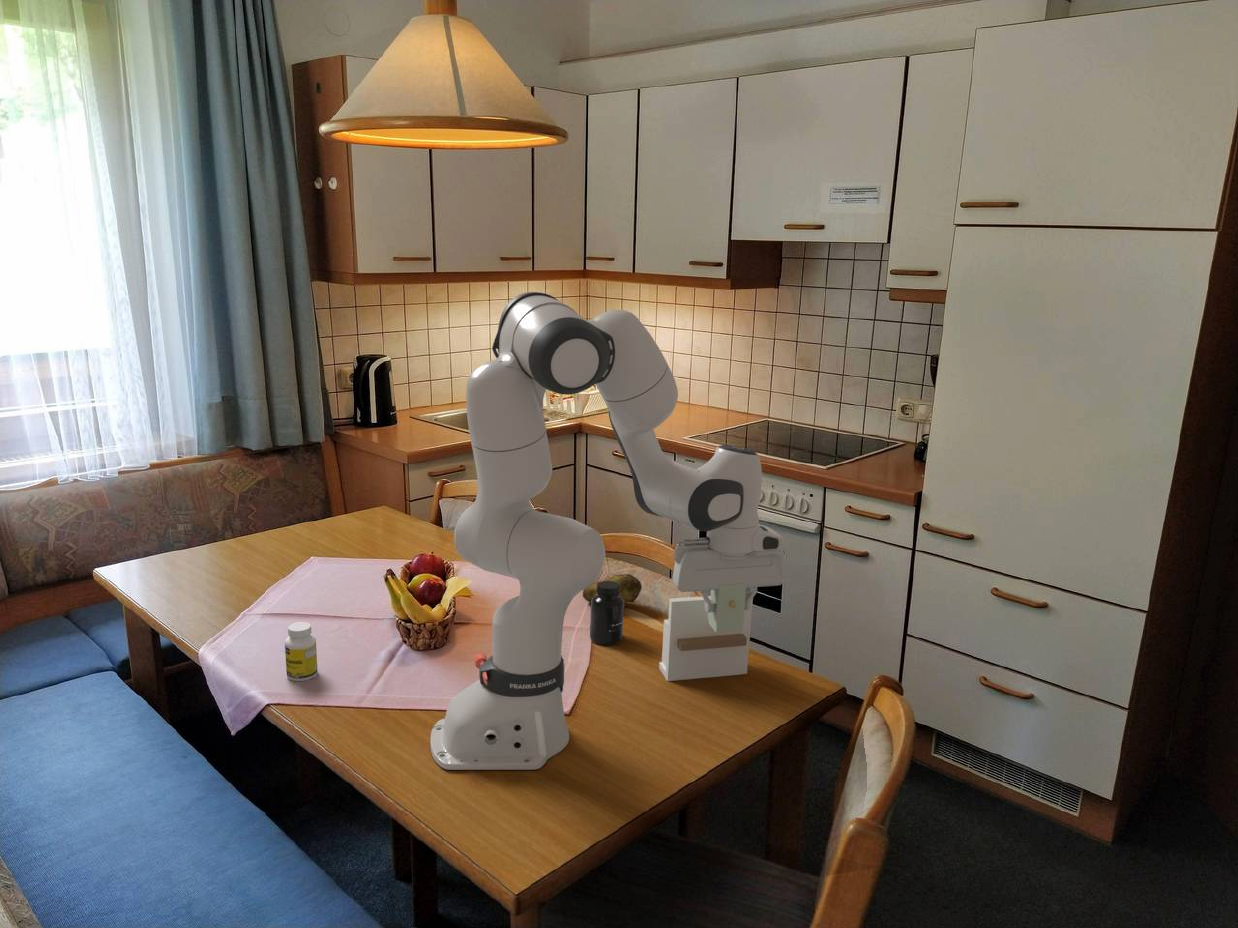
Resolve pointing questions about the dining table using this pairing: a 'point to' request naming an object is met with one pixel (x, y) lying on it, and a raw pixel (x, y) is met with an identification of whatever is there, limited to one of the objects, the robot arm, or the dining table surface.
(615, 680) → the dining table surface
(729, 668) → the wall board
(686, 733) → the dining table surface
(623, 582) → the potato
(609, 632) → the supplement bottle
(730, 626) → the pale green box
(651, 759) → the dining table surface
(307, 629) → the supplement bottle
